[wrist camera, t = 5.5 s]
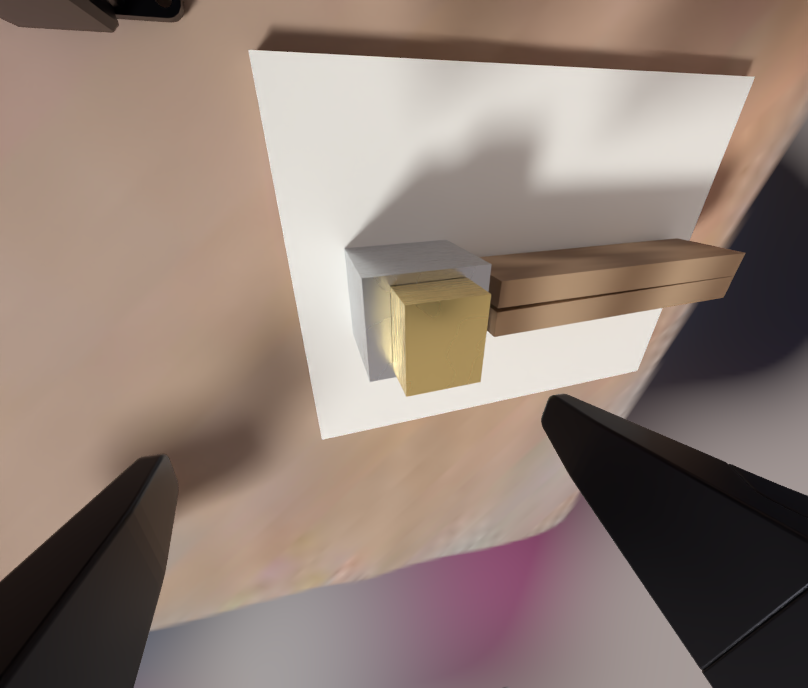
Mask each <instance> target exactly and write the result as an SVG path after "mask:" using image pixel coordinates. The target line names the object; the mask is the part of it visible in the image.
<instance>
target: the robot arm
mask: <svg viewBox="0 0 808 688" xmlns="http://www.w3.org/2000/svg"><path fill="white" fill-rule="evenodd" d="M183 13H184V2H183V0H172V3H171V5H170V7H167V8H164V7H161V6H160V5H159V4H158V2H157V0H0V18H1V19H3V20H5V21H7V22H10V23H12V24H14V25H16V26H19V27H28V28H45V29H61V30H78V31H95V32H114V31H115V30H116V28H117V27H118V26H119V24H118V20H117V19H129V20H144V21H158V22H177V21H179V20H180V19H181V18H182V17H183ZM541 423H542V427H543V429H544V430H545V432H546V434H547V436H548V438H549V440H550V441H551V443H552V445H553V447H554V449H555V450H556V452H557V454H558V456H559V458H560V459H561V461H562V463H563V465H564V467H565V468H566V470H567V472H568V473H569V475H570V477H571V478H572V480H573V482H574V483H575V485H576V486H577V488H578V489H579V491H580V492H581V493H582V495H583V496H584V498H585V499H586V501H587V502H588V504H589V505H590V507H591V508H592V510H593V511H594V513H595V514H596V516H597V517H598V519H599V520H600V522H601V523H602V524H603V526H604V527H605V529H606V530H607V532H608V533H609V535H610V536H611V538H612V539H613V541H614V542H615V544H616V545H617V547H618V548H619V550H620V551H621V553H622V554H623V556H624V557H625V558H626V560H627V561H628V563H629V564H630V566H631V567H632V569H633V570H634V572H635V573H636V575H637V576H638V578H639V579H640V581H641V582H642V583H643V585H644V586H645V588H646V589H647V591H648V592H649V594H650V595H651V597H652V598H653V600H654V601H655V603H656V604H657V606H658V607H659V609H660V610H661V612H662V613H663V615H664V616H665V618H666V619H667V620H668V622H669V623H670V625H671V626H672V628H673V629H674V631H675V632H676V634H677V635H678V637H679V638H680V640H681V641H682V643H683V644H684V646H685V647H686V649H687V650H688V652H689V653H690V655H691V656H692V657H693V659H694V660H695V662H696V663H697V665H698V666H699V668H700V669H701V670H702V673H703V674H704V676H705V677H706V679H707V680H708V682H709V683H710V685H711V686H712V688H808V496H807V495H804V494H802V493H799V492H797V491H794V490H792V489H789V488H787V487H784V486H781V485H779V484H777V483H774V482H772V481H769V480H767V479H764V478H762V477H760V476H757V475H755V474H753V473H750V472H748V471H745V470H743V469H741V468H739V467H736V466H734V465H731V464H727V463H726V462H724V461H722V460H719V459H717V458H715V457H712V456H710V455H708V454H705V453H703V452H701V451H699V450H696V449H694V448H691V447H689V446H687V445H684V444H682V443H680V442H677V441H675V440H673V439H670V438H668V437H666V436H663V435H661V434H659V433H656V432H654V431H651V430H649V429H647V428H644V427H642V426H640V425H637V424H635V423H633V422H631V421H628V420H626V419H624V418H621V417H619V416H617V415H614V414H612V413H610V412H607V411H605V410H602V409H600V408H598V407H595V406H593V405H591V404H588V403H586V402H584V401H581V400H579V399H577V398H574V397H572V396H570V395H567V394H557V395H552V396H550V397H549V399H548V401H547V404H546V406H545V409H544V412H543V415H542V418H541ZM177 498H178V481H177V478H176V475H175V473H174V470H173V467H172V465H171V462H170V459H169V457H168V456H167V455H166V454H156V455H149V456H143V457H141V458H139V459H137V460H136V461H135V462H134V463H133V464H132V465H130V466H129V467H128V468H127V469H126V470H125V471H124V472H123V473H121V474H120V475H119V476H118V477H117V478H116V479H115V480H114V481H113V482H111V483H110V484H109V485H108V486H107V487H106V488H105V489H104V490H102V491H101V492H100V493H99V494H98V495H97V496H96V497H95V498H93V499H92V500H91V501H90V502H89V503H88V504H87V505H86V506H84V507H83V508H82V509H81V510H80V511H79V512H78V513H77V514H75V515H74V516H73V517H72V518H71V519H70V520H69V521H68V522H67V523H65V524H64V525H63V526H62V527H61V528H60V529H59V530H58V531H56V532H55V533H54V534H53V535H52V536H51V537H50V538H49V539H47V540H46V541H45V542H44V543H43V544H42V545H41V546H40V547H38V548H37V549H36V550H35V551H34V552H33V553H32V554H31V555H29V556H28V557H27V558H26V559H25V560H24V561H23V562H22V563H20V564H19V565H18V566H17V567H16V568H15V569H14V570H13V571H12V572H10V573H9V574H8V575H7V576H6V577H5V578H4V579H3V580H1V581H0V688H134V684H135V680H136V677H137V673H138V670H139V666H140V663H141V659H142V656H143V652H144V648H145V645H146V641H147V638H148V634H149V630H150V627H151V623H152V620H153V616H154V613H155V609H156V605H157V602H158V598H159V595H160V591H161V587H162V583H163V579H164V575H165V570H166V565H167V560H168V553H169V547H170V541H171V535H172V529H173V523H174V516H175V510H176V504H177Z"/></svg>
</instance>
